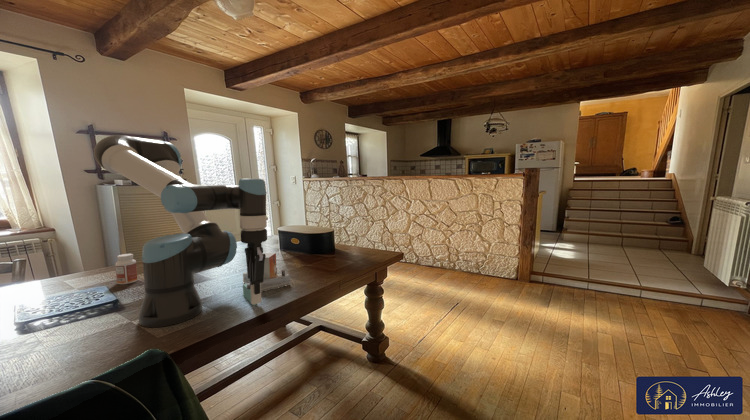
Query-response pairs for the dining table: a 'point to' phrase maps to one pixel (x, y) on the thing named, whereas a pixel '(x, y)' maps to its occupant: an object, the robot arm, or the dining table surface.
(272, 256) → the small box
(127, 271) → the pill bottle
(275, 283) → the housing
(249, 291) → the gate
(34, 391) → the dining table surface
